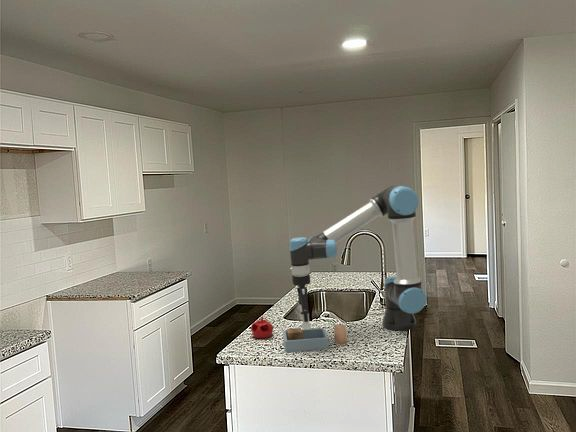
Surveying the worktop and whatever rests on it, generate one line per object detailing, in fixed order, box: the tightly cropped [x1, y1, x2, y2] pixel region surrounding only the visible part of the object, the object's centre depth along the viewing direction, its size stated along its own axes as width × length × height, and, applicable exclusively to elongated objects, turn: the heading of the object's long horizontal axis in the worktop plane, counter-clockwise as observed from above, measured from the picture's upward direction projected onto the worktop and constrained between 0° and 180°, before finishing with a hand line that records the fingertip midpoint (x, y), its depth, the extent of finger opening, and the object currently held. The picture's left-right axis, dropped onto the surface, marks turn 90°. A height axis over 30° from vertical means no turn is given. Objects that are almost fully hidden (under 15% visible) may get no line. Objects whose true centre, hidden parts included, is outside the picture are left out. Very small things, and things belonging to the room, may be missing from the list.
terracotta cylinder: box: [333, 324, 348, 345], centre depth 219 cm, size 5×5×7 cm
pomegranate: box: [250, 316, 274, 339], centre depth 233 cm, size 10×10×9 cm
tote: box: [282, 327, 330, 353], centre depth 218 cm, size 18×14×5 cm
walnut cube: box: [286, 327, 303, 340], centre depth 218 cm, size 6×6×6 cm
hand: (304, 324), depth 217 cm, fingers open, 13 cm apart
